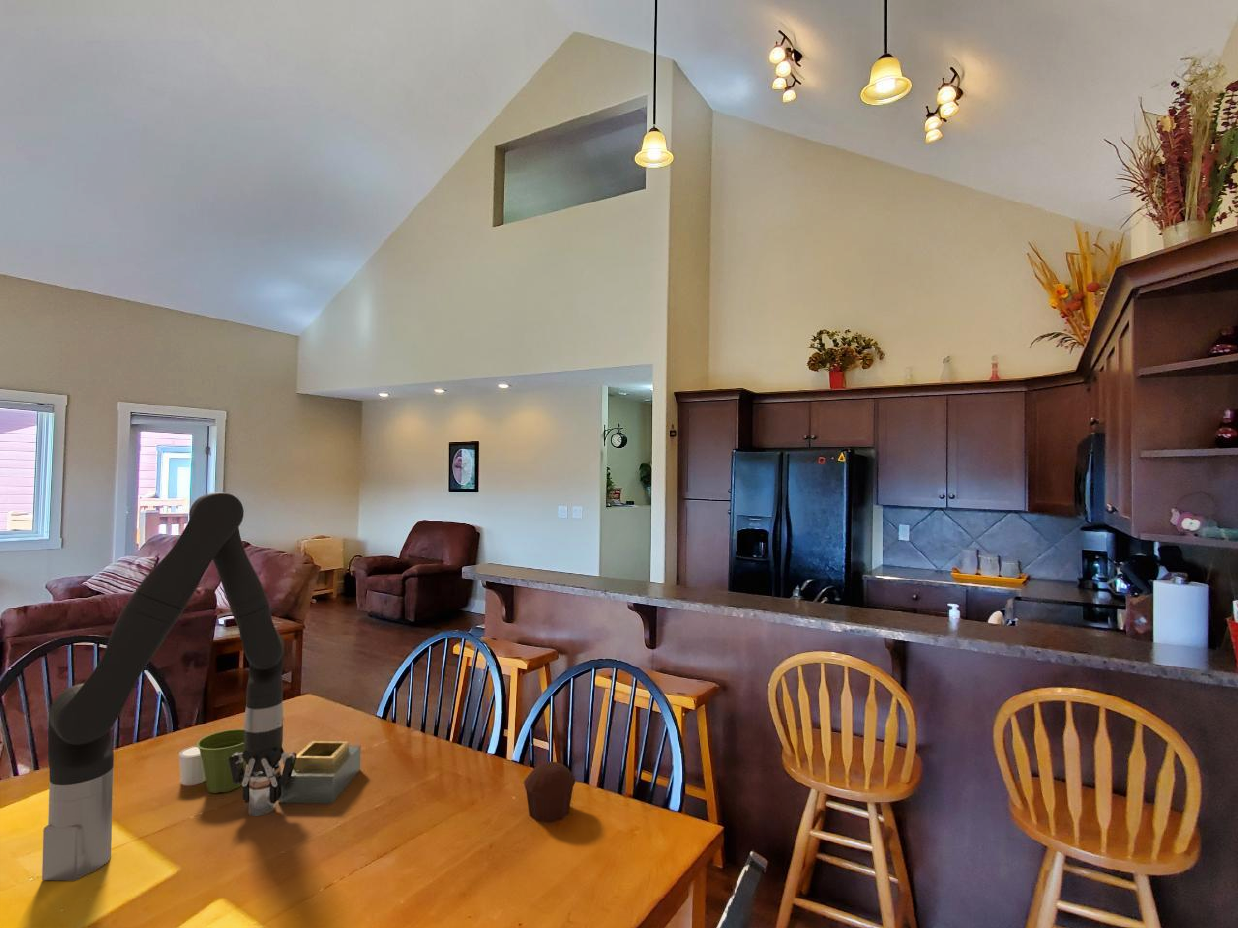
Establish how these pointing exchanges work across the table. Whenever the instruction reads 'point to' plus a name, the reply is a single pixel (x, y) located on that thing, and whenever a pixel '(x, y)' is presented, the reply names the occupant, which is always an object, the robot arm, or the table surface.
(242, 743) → the plant pot
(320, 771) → the grey block with socket
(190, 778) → the white cylinder
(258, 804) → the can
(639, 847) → the table surface
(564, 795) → the muffin
